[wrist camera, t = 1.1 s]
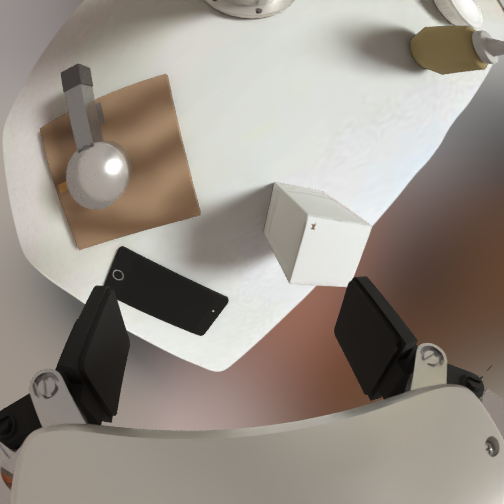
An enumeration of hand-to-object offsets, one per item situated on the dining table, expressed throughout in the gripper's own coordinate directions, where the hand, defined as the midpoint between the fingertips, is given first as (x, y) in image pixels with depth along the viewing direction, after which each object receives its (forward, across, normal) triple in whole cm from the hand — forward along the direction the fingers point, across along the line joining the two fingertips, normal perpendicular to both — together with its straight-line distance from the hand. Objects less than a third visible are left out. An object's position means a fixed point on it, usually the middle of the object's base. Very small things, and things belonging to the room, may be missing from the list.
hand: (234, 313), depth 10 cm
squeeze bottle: (+26, -30, -23) cm, 46 cm away
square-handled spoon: (+21, +14, -6) cm, 26 cm away
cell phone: (+26, +8, +18) cm, 32 cm away
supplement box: (+26, -10, +5) cm, 28 cm away
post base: (+25, +13, -2) cm, 28 cm away
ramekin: (+27, -39, -39) cm, 61 cm away
